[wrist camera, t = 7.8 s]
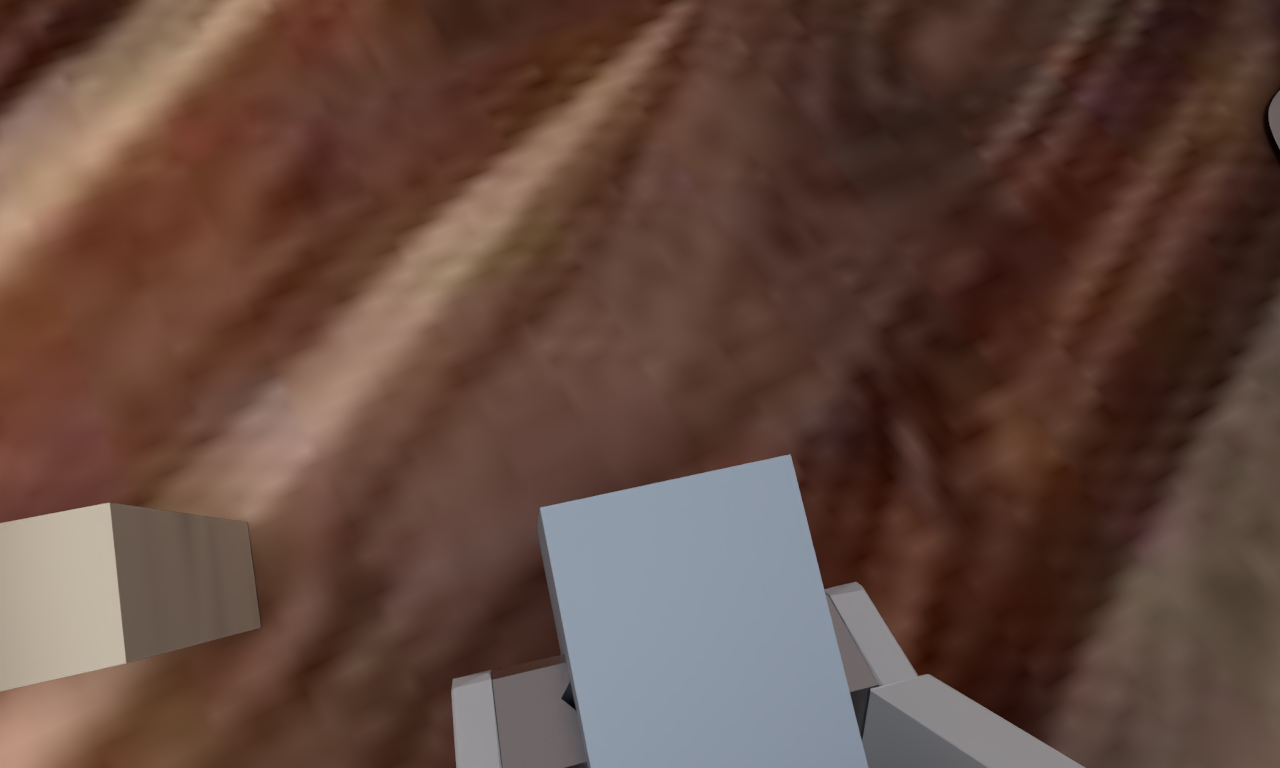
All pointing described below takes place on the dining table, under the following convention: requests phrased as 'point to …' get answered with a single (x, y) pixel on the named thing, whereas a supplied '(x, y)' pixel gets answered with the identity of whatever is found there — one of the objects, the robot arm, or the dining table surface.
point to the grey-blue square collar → (699, 625)
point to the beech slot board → (117, 588)
